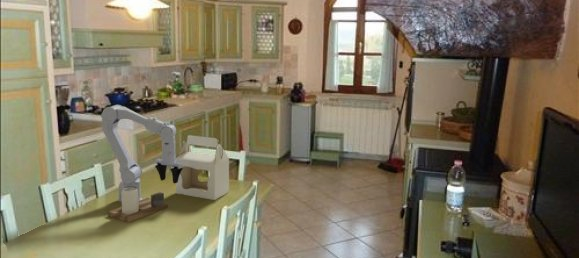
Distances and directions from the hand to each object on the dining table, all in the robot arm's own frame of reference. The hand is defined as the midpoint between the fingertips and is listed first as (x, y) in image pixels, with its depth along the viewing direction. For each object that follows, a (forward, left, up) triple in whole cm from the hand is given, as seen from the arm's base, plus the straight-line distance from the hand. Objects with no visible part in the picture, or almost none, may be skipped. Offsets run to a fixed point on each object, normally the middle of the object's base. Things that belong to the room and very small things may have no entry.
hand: (169, 181), depth 201 cm
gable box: (+3, +19, -10) cm, 22 cm away
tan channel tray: (-2, -16, -10) cm, 19 cm away
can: (-1, -21, -10) cm, 23 cm away
